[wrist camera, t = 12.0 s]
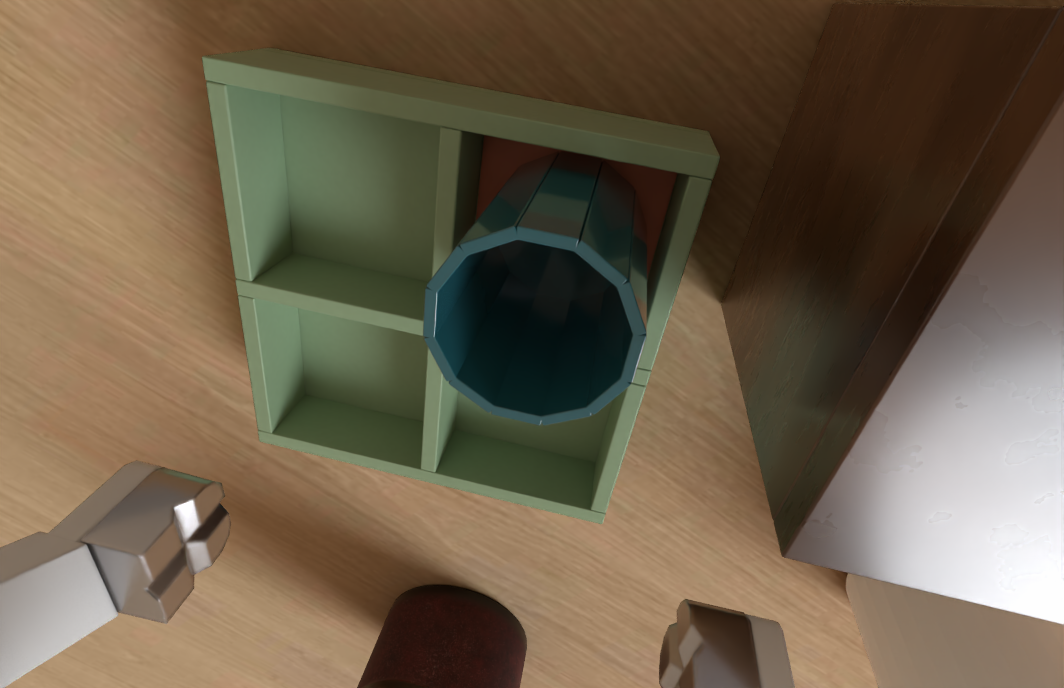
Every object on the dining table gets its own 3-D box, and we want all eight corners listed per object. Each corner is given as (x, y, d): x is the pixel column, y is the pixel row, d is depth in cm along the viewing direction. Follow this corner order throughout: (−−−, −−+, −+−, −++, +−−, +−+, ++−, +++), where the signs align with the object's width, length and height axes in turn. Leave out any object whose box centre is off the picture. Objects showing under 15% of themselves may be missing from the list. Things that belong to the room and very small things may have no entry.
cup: (501, 139, 23) (428, 207, 15) (663, 170, 22) (670, 257, 15) (484, 284, 26) (419, 398, 19) (624, 313, 26) (614, 443, 18)
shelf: (833, 3, 20) (1115, 6, 8) (1200, 66, 19) (2142, 178, 7) (720, 304, 26) (781, 558, 14) (989, 362, 25) (1291, 681, 13)
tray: (269, 47, 24) (200, 55, 20) (709, 131, 22) (721, 156, 19) (301, 393, 33) (258, 441, 30) (607, 465, 32) (602, 524, 29)
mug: (813, 597, 35) (862, 772, 27) (903, 501, 30) (994, 680, 22) (1001, 658, 35) (1105, 851, 27) (1122, 571, 30) (1292, 776, 22)
